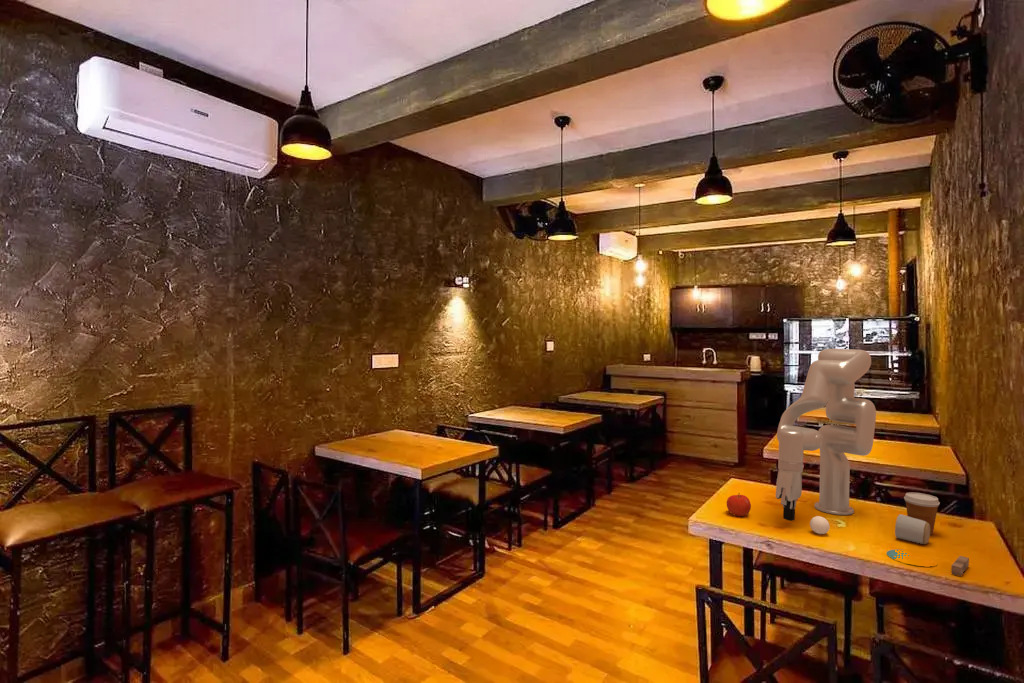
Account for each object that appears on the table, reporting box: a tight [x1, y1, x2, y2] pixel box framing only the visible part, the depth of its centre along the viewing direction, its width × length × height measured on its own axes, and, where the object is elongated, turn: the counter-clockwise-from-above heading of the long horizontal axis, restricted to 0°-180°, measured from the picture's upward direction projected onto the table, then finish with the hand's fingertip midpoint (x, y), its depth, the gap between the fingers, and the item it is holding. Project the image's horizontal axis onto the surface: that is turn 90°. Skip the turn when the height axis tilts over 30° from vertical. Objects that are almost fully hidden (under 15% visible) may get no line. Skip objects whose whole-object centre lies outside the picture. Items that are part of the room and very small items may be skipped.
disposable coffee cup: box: [903, 492, 941, 536], centre depth 180 cm, size 10×10×12 cm
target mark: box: [886, 549, 909, 560], centre depth 159 cm, size 12×12×1 cm
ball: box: [809, 515, 830, 535], centre depth 178 cm, size 6×6×6 cm
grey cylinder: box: [894, 513, 931, 545], centre depth 174 cm, size 11×8×8 cm
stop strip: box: [950, 555, 970, 577], centre depth 151 cm, size 10×2×2 cm, turn 130°
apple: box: [726, 492, 752, 517], centre depth 196 cm, size 8×8×8 cm
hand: (788, 519), depth 185 cm, fingers closed
